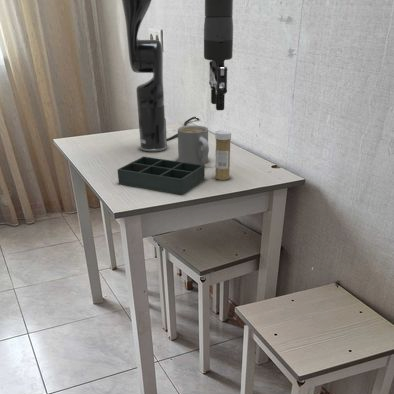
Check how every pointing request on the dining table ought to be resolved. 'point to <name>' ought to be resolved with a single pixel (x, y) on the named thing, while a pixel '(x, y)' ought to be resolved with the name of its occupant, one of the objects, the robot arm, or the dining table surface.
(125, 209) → the dining table surface
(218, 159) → the sprinkles bottle
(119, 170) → the rack
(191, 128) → the coffee mug
